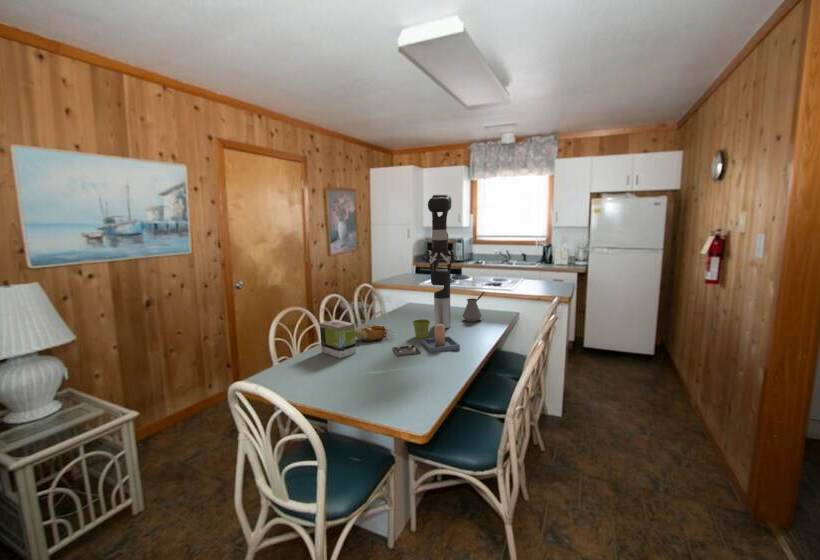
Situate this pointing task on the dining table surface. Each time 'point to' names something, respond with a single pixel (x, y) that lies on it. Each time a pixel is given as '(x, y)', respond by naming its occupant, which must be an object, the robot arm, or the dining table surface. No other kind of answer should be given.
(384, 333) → the nautilus
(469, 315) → the coffee pot
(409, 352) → the parts tray
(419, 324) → the plant pot
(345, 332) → the tea box
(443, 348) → the shallow square tray
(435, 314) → the robot arm
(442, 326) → the tan rounded pillar
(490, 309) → the dining table surface
